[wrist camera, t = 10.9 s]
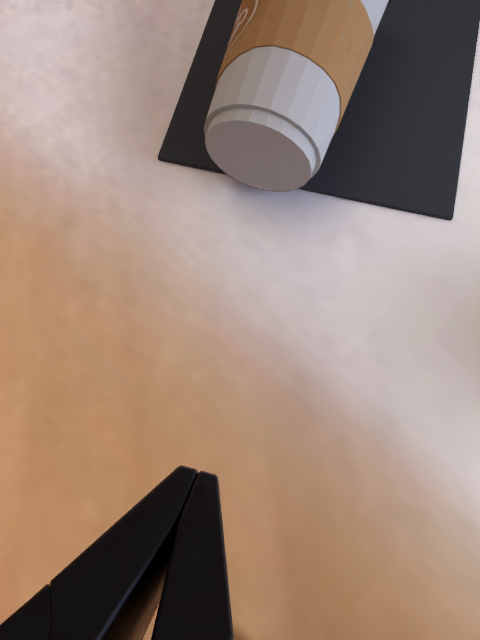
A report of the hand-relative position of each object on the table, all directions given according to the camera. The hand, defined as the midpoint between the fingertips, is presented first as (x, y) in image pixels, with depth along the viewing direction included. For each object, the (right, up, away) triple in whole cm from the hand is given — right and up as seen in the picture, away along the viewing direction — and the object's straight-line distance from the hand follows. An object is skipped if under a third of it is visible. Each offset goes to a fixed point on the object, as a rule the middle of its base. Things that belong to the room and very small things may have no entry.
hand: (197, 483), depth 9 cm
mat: (+7, +22, +20) cm, 31 cm away
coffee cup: (+2, +12, +14) cm, 18 cm away
